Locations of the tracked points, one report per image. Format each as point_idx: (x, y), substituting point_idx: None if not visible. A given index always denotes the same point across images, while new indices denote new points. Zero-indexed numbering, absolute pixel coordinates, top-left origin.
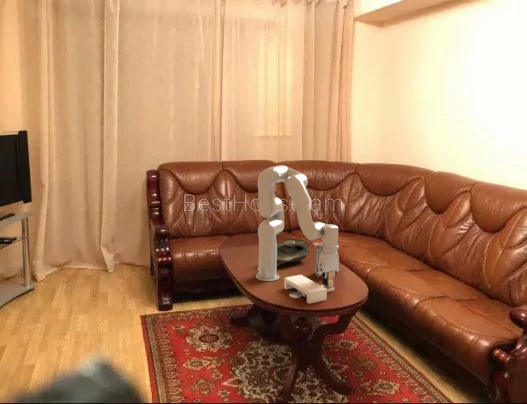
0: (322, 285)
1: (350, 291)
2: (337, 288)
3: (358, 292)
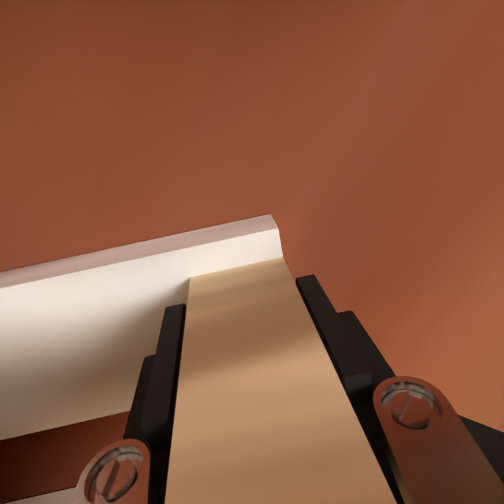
0: (178, 263)
1: (439, 385)
2: (370, 294)
3: (485, 412)
